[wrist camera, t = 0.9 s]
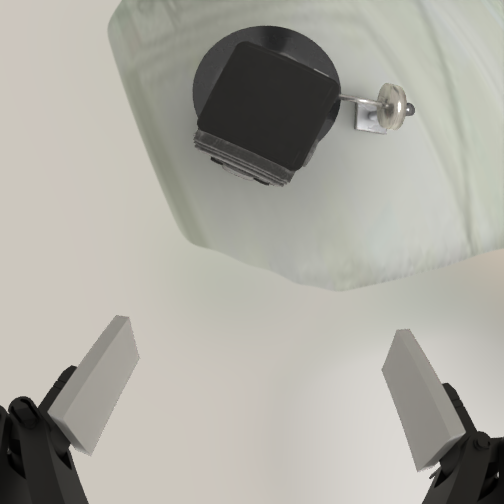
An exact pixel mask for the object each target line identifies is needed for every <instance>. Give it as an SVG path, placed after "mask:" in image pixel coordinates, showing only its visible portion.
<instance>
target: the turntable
mask: <svg viewBox="0 0 504 504" xmlns="http://www.w3.org/2000/svg"><path fill="white" fill-rule="evenodd" d="M243 41H248V42H251V43H254V44H257V45H259V46H262V47H264V48H267V49H269V50H272V51H274V52H277V53H279V54H282V55H284V56H286V57H289V58H291V59H293V60H295V61H297V62H300V63H302V64H304V65H306V66H308V67H310V68H312V69H316V70H318V71H320V72H322V73H324V74H326V75H328V76H329V77H330V78H332V79H333V80H335V81H336V82H337V83H338V84H339V86H340V81H339V77H338V74H337V71H336V69H335V67H334V65H333V63H332V61H331V60H330V58H329V57H328V55H327V54H326V53H325V52H324V51H323V50H322V48H321V47H319V46H318V45H317V44H316V43H315V42H314V41H312V40H311V39H309V38H308V37H306V36H304V35H302V34H300V33H298V32H296V31H293V30H290V29H286V28H282V27H276V26H256V27H249V28H246V29H242V30H239V31H236V32H234V33H232V34H230V35H228V36H226V37H224V38H223V39H222V40H220V41H219V42H217V43H216V44H215V45H214V46H213V47H212V48H211V49H210V50H209V51H208V52H207V54H206V55H205V56H204V58H203V59H202V61H201V63H200V64H199V67H198V69H197V71H196V74H195V78H194V83H193V101H194V107H195V110H196V114H197V116H198V118H199V116H200V114H201V112H202V110H203V108H204V106H205V104H206V101H207V99H208V97H209V95H210V93H211V91H212V89H213V88H214V86H215V84H216V82H217V80H218V78H219V76H220V74H221V72H222V70H223V68H224V67H225V65H226V63H227V61H228V59H229V58H230V56H231V54H232V52H233V50H234V49H235V47H236V45H237V44H239V43H240V42H243ZM339 94H341V87H340V92H339ZM339 94H338V96H337V98H336V100H335V102H334V104H333V106H332V108H331V110H330V112H329V114H328V116H327V118H326V120H325V122H324V124H323V126H322V128H321V130H320V132H319V134H318V136H317V138H316V139H318V142H319V141H320V140H321V139H322V138H323V137H324V136H325V135H326V134H327V133H328V131H329V130H330V129H331V127H332V125H333V124H334V122H335V119H336V117H337V115H338V111H339V107H340V101H341V100H339Z"/></svg>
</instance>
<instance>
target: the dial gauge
mask: <svg viewBox="0 0 504 504" xmlns="http://www.w3.org/2000/svg"><path fill="white" fill-rule="evenodd" d="M339 100H346V101H352V102H356V111H355V129H356V130H363V131H369V132H374V133H380V134H387V129H391V130H398V129H399V128H400V127H401V126H402V124H403V122H404V119H405V116H411V115H413V114H414V113H415V108H414V106H413V105H412V104H411V103H407V101H406V95H405V92H404V90H403V89H402V87H400V86H397V85H393V84H389V83H385V84H384V85H383V86H382V87H381V89H380V92H379V95H378V99H377V101H375V100H370V99H364V98H359V97H353V96H348V95H341V94H339Z"/></svg>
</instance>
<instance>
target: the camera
mask: <svg viewBox="0 0 504 504" xmlns="http://www.w3.org/2000/svg"><path fill="white" fill-rule="evenodd" d="M339 92H340V86H339V84H338V83H337V82H336V81H335V80H333V79H332V78H330V77H329V76H328V75H326V74H324V73H322V72H320V71H318V70H316V69H312V68H310V67H308V66H306V65H304V64H302V63H300V62H297V61H295V60H293V59H291V58H289V57H286V56H284V55H282V54H279V53H277V52H274V51H272V50H269V49H267V48H264V47H262V46H259V45H257V44H254V43H251V42H248V41H243V42H240V43H239V44H237V45H236V47H235V49H234V50H233V52H232V54H231V56H230V58H229V59H228V61H227V63H226V65H225V67H224V68H223V70H222V72H221V74H220V76H219V78H218V80H217V82H216V84H215V86H214V88H213V89H212V91H211V93H210V95H209V97H208V99H207V101H206V104H205V106H204V108H203V110H202V112H201V114H200V116H199V118H198V120H197V125H198V130H197V132H196V133H194V136H195V137H194V140H195V141H194V143H195V144H196V145H195V148H197V149H198V150H199V151H201V152H203V153H206V154H208V155H210V156H213V157H211V160H212V161H214V162H216V163H218V164H221V165H223V168H224V169H225V170H227V171H228V172H230V173H232V174H234V175H236V176H239V177H241V178H244V179H247V180H253V179H255V180H256V181H258V182H260V183H262V184H264V185H269V184H271V185H276V186H283V185H284V184H287V182H288V183H290V181H291V179H292V177H293V175H294V173H295V171H296V170H299V169H300V168H301V167H302V166H303V167H305V166H306V165H307V163H308V162H309V160H310V159H311V157H312V155H313V153H314V151H315V149H316V146H317V144H318V139H316V138H317V136H318V134H319V132H320V130H321V128H322V126H323V124H324V122H325V120H326V118H327V116H328V114H329V112H330V110H331V108H332V106H333V104H334V102H335V100H336V98H337V96H338V94H339Z"/></svg>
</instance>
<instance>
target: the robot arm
mask: <svg viewBox="0 0 504 504" xmlns="http://www.w3.org/2000/svg"><path fill="white" fill-rule="evenodd" d="M138 360H139V354H138V351H137V347H136V343H135V339H134V335H133V331H132V327H131V323H130V318H129V317H125V316H118V315H116V316H115V317H114V319H113V320H112V321H111V323H110V324H109V325H108V326H107V328H106V329H105V330H104V332H103V333H102V334H101V336H100V337H99V338H98V340H97V341H96V342H95V344H94V345H93V347H92V348H91V349H90V351H89V352H88V353H87V355H86V356H85V357H84V359H83V360H82V362H81V363H80V364H79V366H78V367H76V366H70V367H69V368H67V369H66V370H64V371H63V373H62V374H61V375H60V377H59V378H58V381H56V382H55V383H54V385H53V387H52V388H51V389H50V391H49V392H48V393H47V395H46V397H45V398H44V399H43V401H42V402H41V404H40V405H39V407H38V408H37V407H36V405H35V404H34V402H33V401H32V400H31V399H30V398H28V397H26V396H22V397H18V398H15V399H14V400H13V401H12V402H11V403H10V405H9V408H8V412H9V413H10V414H8V413H7V411H6V410H5V409H4V408H3V407H2V406H0V504H89V503H88V501H87V498H86V496H85V493H84V491H83V488H82V485H81V483H80V480H79V477H78V474H77V471H76V468H75V465H74V462H73V459H72V455H71V453H70V451H69V449H68V448H69V446H70V444H72V445H73V446H74V448H75V449H76V450H77V451H80V452H82V453H84V454H87V455H89V456H91V455H92V453H93V451H94V448H95V446H96V444H97V442H98V440H99V438H100V436H101V434H102V431H103V429H104V427H105V425H106V423H107V421H108V419H109V417H110V415H111V413H112V411H113V409H114V407H115V405H116V403H117V401H118V399H119V397H120V395H121V393H122V391H123V389H124V387H125V385H126V383H127V381H128V379H129V378H130V376H131V374H132V372H133V370H134V368H135V366H136V364H137V362H138ZM382 372H383V375H384V377H385V380H386V382H387V385H388V388H389V390H390V393H391V395H392V398H393V401H394V404H395V406H396V409H397V412H398V415H399V417H400V420H401V423H402V426H403V428H404V432H405V435H406V438H407V440H408V444H409V446H410V450H411V453H412V456H413V459H414V463H415V466H416V469H417V472H420V471H423V470H426V469H430V468H432V467H433V466H434V465H435V464H437V463H438V462H440V465H441V466H440V467H439V468H438V469H437V470H436V471H435V472H434V473H433V474H432V475H431V476H430V477H429V479H431V478H433V477H434V476H435V477H434V480H433V482H432V484H431V486H430V489H429V490H428V493H427V495H426V497H425V499H424V501H423V503H422V504H504V437H501V438H490V437H489V436H488V435H487V434H486V433H484V432H480V431H477V430H476V428H475V427H474V424H473V422H472V420H471V418H470V416H469V415H468V412H467V411H466V409H465V407H464V406H463V403H462V401H461V400H460V398H459V396H458V394H457V392H456V390H455V389H454V388H453V387H452V386H451V385H450V384H449V383H444V384H441V382H440V380H439V378H438V377H437V375H436V373H435V371H434V369H433V367H432V366H431V364H430V362H429V360H428V359H427V357H426V355H425V354H424V352H423V350H422V349H421V347H420V345H419V344H418V342H417V341H416V339H415V337H414V335H413V334H412V332H411V331H410V329H404V330H397V331H396V334H395V336H394V339H393V342H392V345H391V347H390V350H389V353H388V356H387V358H386V361H385V363H384V365H383V368H382ZM498 472H499V477H498V476H497V473H498Z"/></svg>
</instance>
